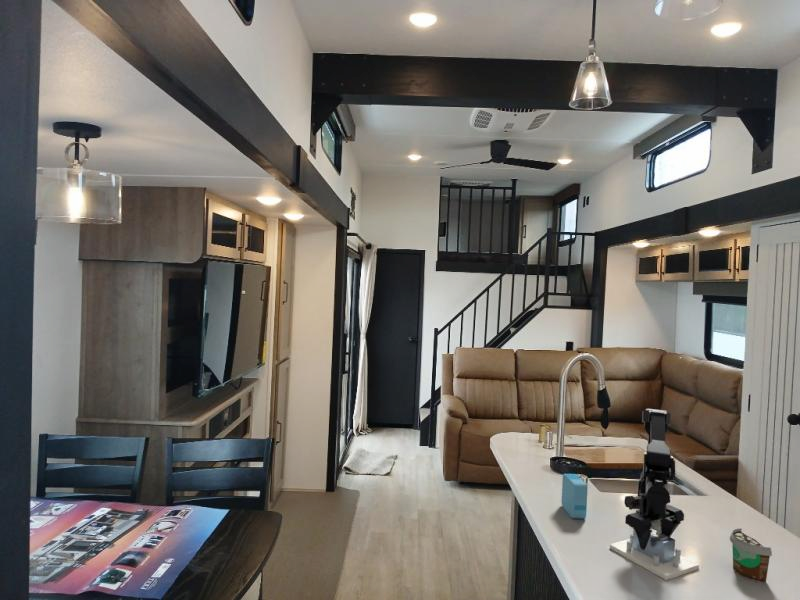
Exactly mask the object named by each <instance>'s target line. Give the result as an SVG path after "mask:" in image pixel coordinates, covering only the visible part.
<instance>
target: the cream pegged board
mask: <svg viewBox="0 0 800 600" xmlns="http://www.w3.org/2000/svg"><path fill="white" fill-rule="evenodd" d="M609 549H611V550H612V551H614V552H616V553H618V554H619V555H621V556H623V557H625V559H626V558H627V559H628V560H630V561H632V562H633V563H635V564H636V565H639V566H641V567H642V568H645V569H646V570H648V571H650V572H651V573H653V574H655V575H657V576H658V577H660V578H662V579H664V580H666V581H668V580H670V579H671V580H672V579H673V578H676V577H680V576H682V575H685V574H687V573H691V572H695V571H696V570H699V569H700V564H698V563H696V562H694V561H693V560H691V559H688V558H686V557H684V556H683V555H681V552H682V551H681V549H680V548H676V547H675V553H674V556H673V561H670V562H667V563H664V564H662V563H660V562H659V556H657V555H654V559H652V558H650V557H649V556H647V555H645V554H643V553H641V552H639V551H637V550H635V549H633V533H630V534H629V538H627V539H624V540H621V541H617V542H613V543H610V544H609Z"/></svg>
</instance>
